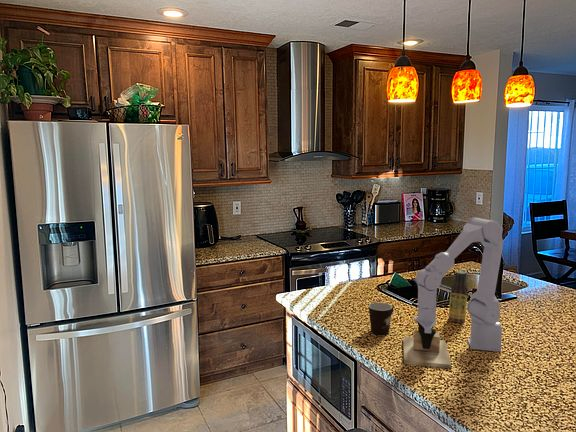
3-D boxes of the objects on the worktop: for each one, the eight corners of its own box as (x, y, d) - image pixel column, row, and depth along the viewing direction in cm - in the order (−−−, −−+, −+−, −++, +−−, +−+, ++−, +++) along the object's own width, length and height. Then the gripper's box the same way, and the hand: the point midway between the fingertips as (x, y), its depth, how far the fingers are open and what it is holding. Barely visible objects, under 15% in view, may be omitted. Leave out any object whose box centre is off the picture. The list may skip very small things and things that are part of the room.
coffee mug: (374, 338, 154) (375, 311, 153) (364, 329, 162) (364, 303, 161) (403, 334, 157) (404, 308, 156) (391, 325, 165) (392, 300, 164)
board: (444, 343, 149) (444, 340, 149) (451, 368, 132) (451, 364, 131) (403, 339, 152) (403, 336, 152) (404, 363, 135) (404, 360, 135)
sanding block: (438, 347, 143) (438, 332, 142) (439, 353, 139) (439, 337, 138) (413, 345, 145) (413, 330, 144) (413, 350, 141) (414, 335, 140)
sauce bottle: (447, 321, 168) (449, 272, 165) (449, 316, 173) (451, 268, 171) (465, 324, 165) (467, 274, 162) (466, 319, 170) (469, 270, 168)
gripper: (413, 298, 148) (412, 335, 150) (415, 313, 134) (414, 354, 136) (434, 299, 146) (433, 337, 148) (438, 314, 132) (437, 356, 134)
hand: (425, 345), depth 142 cm, fingers closed on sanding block, 4 cm apart
